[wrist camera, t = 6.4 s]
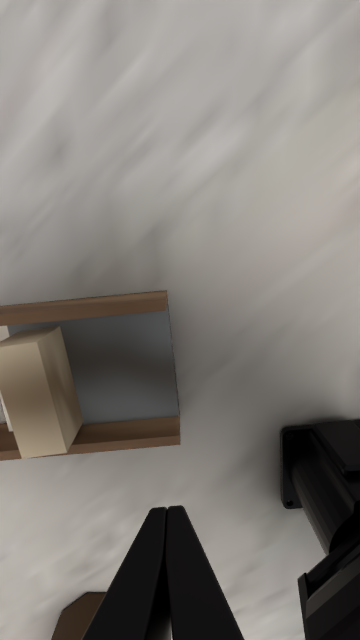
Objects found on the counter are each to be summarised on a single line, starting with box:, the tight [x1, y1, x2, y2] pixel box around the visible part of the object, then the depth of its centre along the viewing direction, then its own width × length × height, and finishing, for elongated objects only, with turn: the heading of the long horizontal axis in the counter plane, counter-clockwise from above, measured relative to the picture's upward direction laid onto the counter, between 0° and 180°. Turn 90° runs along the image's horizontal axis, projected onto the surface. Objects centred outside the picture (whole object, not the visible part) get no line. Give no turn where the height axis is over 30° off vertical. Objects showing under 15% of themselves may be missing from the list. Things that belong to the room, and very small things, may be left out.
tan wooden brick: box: [0, 326, 83, 459], centre depth 17 cm, size 6×2×3 cm, turn 8°
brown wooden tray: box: [0, 290, 180, 461], centre depth 18 cm, size 9×18×4 cm, turn 95°
